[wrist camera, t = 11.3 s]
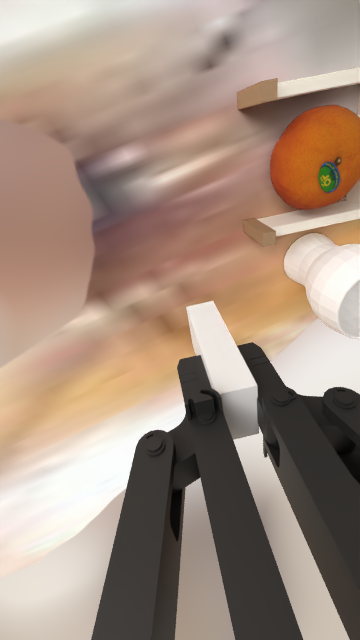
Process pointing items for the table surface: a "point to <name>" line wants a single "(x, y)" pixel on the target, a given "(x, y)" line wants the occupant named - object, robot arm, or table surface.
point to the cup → (328, 280)
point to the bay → (268, 228)
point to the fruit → (317, 157)
